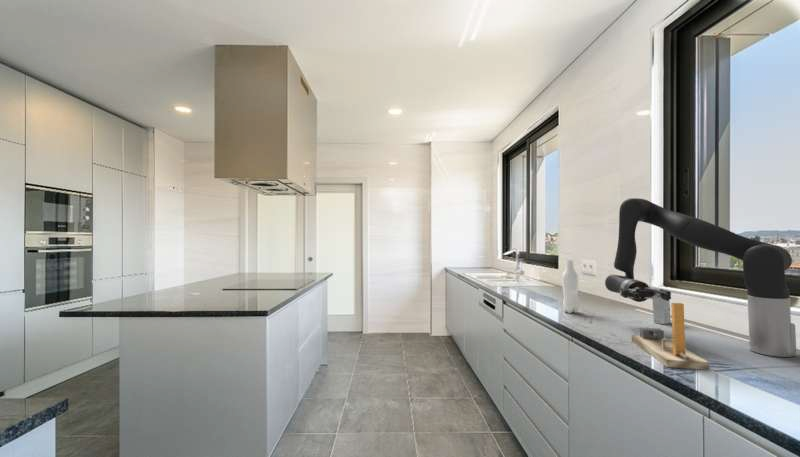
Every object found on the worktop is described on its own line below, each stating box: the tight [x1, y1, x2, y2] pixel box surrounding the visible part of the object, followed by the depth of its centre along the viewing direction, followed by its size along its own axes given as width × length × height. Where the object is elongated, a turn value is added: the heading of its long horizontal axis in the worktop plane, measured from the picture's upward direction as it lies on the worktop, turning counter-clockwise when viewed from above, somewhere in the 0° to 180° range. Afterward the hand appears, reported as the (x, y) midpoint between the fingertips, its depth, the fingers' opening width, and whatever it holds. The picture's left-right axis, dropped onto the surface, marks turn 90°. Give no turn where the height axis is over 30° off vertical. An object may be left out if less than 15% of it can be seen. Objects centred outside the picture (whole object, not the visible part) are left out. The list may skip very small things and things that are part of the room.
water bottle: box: [561, 259, 580, 314], centre depth 175 cm, size 7×7×25 cm
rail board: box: [631, 335, 710, 370], centre depth 112 cm, size 10×26×2 cm, turn 166°
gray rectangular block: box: [639, 327, 665, 340], centre depth 121 cm, size 6×6×3 cm
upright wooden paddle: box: [662, 302, 689, 359], centre depth 105 cm, size 4×10×15 cm, turn 166°
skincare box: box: [651, 295, 672, 325], centre depth 152 cm, size 6×4×12 cm
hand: (653, 297), depth 120 cm, fingers open, 8 cm apart
